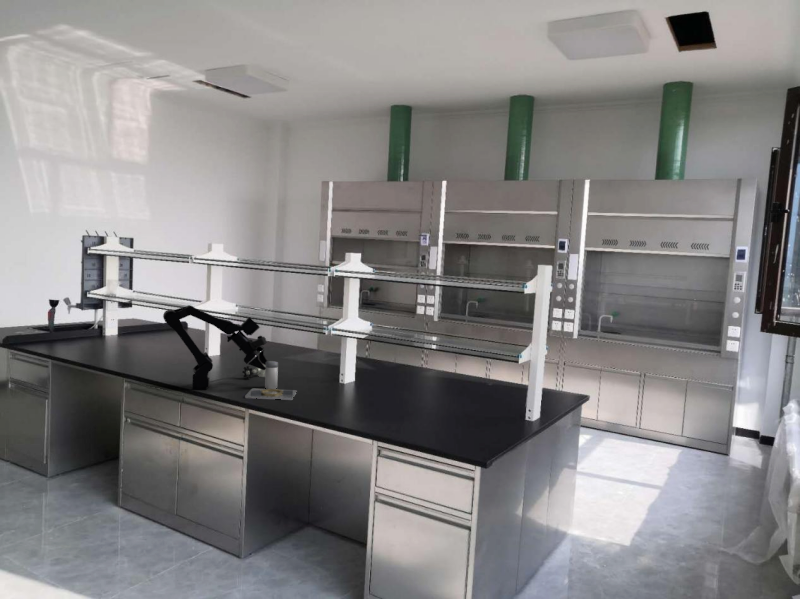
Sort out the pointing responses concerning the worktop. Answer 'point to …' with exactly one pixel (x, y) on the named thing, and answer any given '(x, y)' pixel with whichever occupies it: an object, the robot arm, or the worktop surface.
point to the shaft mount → (271, 394)
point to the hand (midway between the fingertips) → (266, 367)
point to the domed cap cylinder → (271, 375)
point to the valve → (249, 371)
